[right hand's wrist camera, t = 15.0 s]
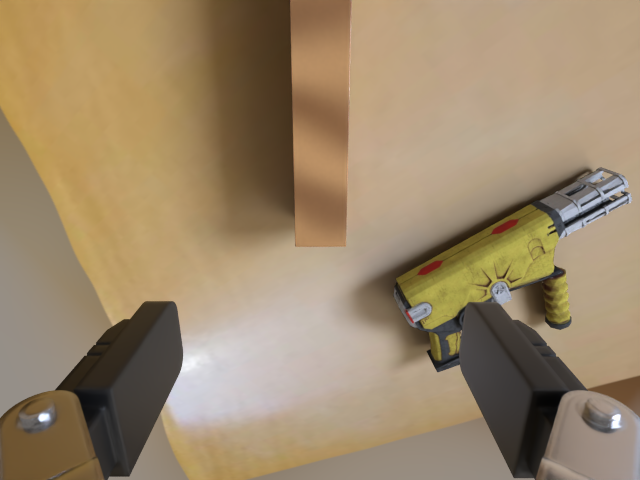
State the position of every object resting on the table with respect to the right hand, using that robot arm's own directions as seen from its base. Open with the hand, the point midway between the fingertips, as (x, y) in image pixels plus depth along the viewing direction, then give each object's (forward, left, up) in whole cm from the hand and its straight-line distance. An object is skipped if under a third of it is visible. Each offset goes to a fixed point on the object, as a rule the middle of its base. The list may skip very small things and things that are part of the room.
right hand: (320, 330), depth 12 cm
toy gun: (-24, +6, -32) cm, 40 cm away
